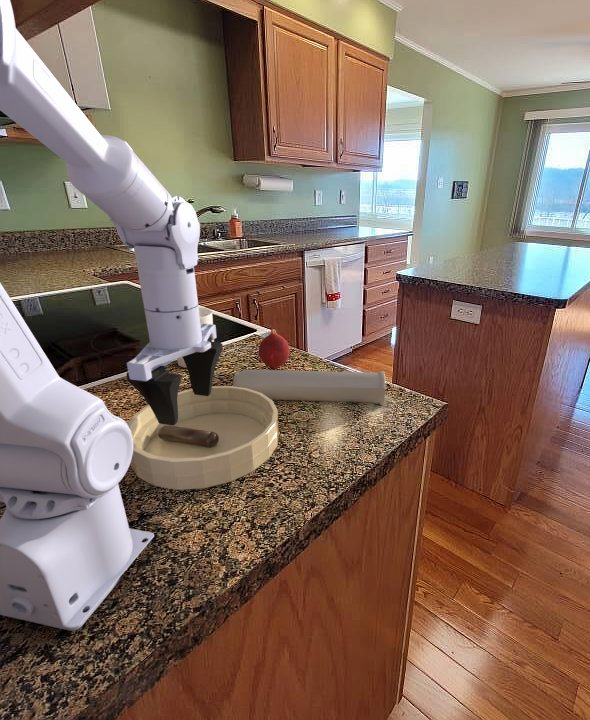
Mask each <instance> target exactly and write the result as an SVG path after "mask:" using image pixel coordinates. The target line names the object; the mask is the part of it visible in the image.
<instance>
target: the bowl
mask: <svg viewBox="0 0 590 720" xmlns="http://www.w3.org/2000/svg"><path fill="white" fill-rule="evenodd" d="M177 404H178V421H177V423H176V424H175V425H170V426H177V427H184V428H191V429H198V430H205V431H212V432H215V433H216V434H217V435H218V436H219V441H218V443H217V444H216V445H215V446H213V447H206V446H199V445H193V444H186V443H179V442H172V441H166V440H162V439H160V438H159V436H158V430H159V429H160V428H161V427H162V426H165V425H166V424H159V422H158V420H157V418H156V416H155V415H154V413H153V411H152V409H151V407H150V406H149V404H147V405H146V406H144V407H143V408H141V409H140V410H139V411H138V412H136V413H135V414H133V416H132V417H131V419H130V420H129V421H128V423H127V425H128V426H129V428H130V431H131V434H132V438H133V455H132V459H131V462H130V465H129V467H131V469H132V470H133V472H134V473H135V475H136V476H137V477H138V479H140V480H143V481H144V482H146V483H147V484H150V485H152V486H153V487H156V488H157V487H158V488H164V489H168V490H169V489H170V490H176V491H181V490H185V491H186V490H199V489H200V490H201V489H202V490H203V489H207V488H211V487H215V486H219V485H224V484H227V483H231V482H234V481H236V480H238V479H240V478H242V477H244V476H246V475H249V474H251V473H253V472H254V471H255V470H257V469H258V468H259V467H260V466H262V465H263V464H264V463H265V462H267V461H268V460H269V459H270V458H271V456H272V455H273V453H274V452H275V450H276V449H277V447H278V445H279V444H278V443H279V434H280V431H279V410H278V408H277V406H276V404H275V403H274V400H271V399H269V398H268V397H267V396H265V395H264V394H262V393H260V392H257V391H254V390H251V389H248V388H241V387H233V385H217V386H216V385H214V386H213V385H212V389H211V393H210V395H209V396H201V395H194V392H193V390H192V388H190V389H189V388H188V389H185V390H182V391H178V397H177Z"/></svg>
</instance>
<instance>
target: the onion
mask: <svg viewBox="0 0 590 720" xmlns="http://www.w3.org/2000/svg"><path fill="white" fill-rule="evenodd" d="M290 354H291V351H290V345H289V343H288V341H287V339H286V338H284V337H283V336H282V335H280V334H278V332H277V330H276V329H273V328H272V329H270V333H269V334H268V335H267V336H266V337H264V338H263V339H262V340H261V342H260V343H259V347H258V356H259V360H261V362H262V363H263V364H264V365H266V366H267V367H269V368H271V370H278V368H280V367H281V366H283V365H284V364H285V363H286V362H287V361H288V359H289V358H290Z"/></svg>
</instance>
